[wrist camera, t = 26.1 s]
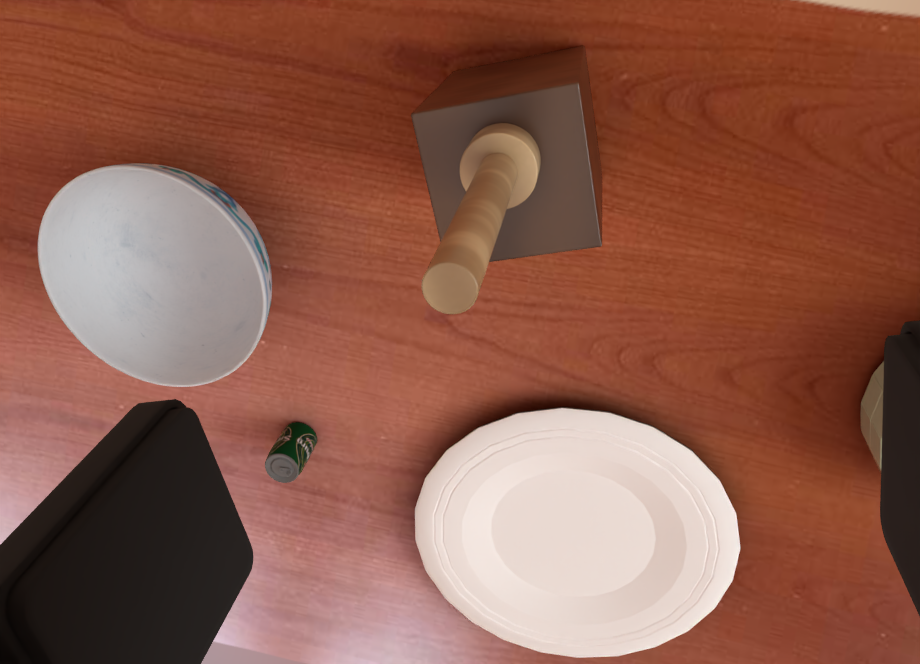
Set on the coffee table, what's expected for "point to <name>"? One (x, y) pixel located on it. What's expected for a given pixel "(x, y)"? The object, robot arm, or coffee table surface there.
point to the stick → (481, 213)
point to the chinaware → (156, 272)
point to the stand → (549, 123)
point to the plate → (577, 532)
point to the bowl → (873, 415)
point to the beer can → (290, 452)
